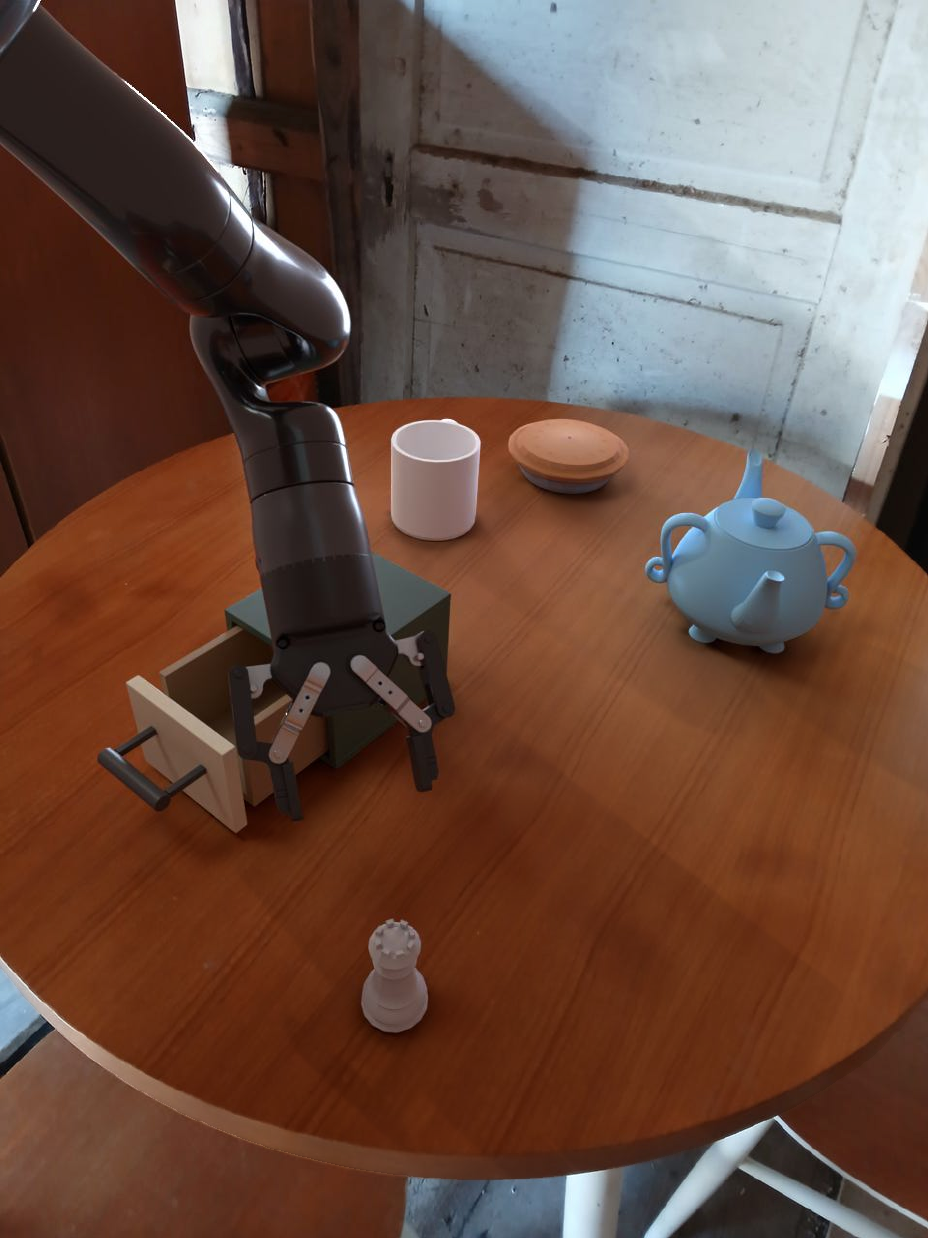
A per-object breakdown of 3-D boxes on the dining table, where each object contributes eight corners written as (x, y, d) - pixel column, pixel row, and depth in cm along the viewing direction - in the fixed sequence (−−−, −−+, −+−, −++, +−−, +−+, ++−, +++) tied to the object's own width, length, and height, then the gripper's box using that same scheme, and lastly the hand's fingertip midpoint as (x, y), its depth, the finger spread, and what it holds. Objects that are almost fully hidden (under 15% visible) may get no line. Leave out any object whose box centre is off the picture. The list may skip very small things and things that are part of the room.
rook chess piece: (398, 1050, 58) (398, 985, 53) (347, 1008, 60) (343, 941, 55) (441, 998, 61) (445, 932, 56) (391, 960, 63) (391, 892, 58)
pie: (631, 506, 112) (638, 471, 109) (506, 499, 112) (509, 463, 109) (618, 447, 124) (624, 413, 121) (505, 440, 124) (508, 407, 121)
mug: (465, 547, 103) (470, 468, 97) (380, 533, 104) (380, 454, 98) (487, 493, 113) (492, 417, 106) (409, 481, 114) (410, 405, 108)
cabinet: (336, 770, 76) (331, 677, 70) (237, 701, 82) (223, 609, 75) (446, 682, 85) (451, 593, 79) (350, 625, 91) (347, 537, 85)
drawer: (185, 873, 67) (167, 794, 61) (94, 793, 72) (70, 714, 66) (358, 738, 78) (355, 661, 72) (268, 678, 83) (260, 602, 78)
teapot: (737, 697, 86) (778, 578, 77) (614, 586, 99) (636, 473, 90) (856, 649, 92) (905, 534, 84) (725, 550, 105) (756, 442, 97)
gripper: (205, 569, 54) (254, 838, 53) (431, 535, 58) (481, 784, 57) (206, 589, 61) (249, 826, 60) (407, 557, 66) (451, 778, 64)
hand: (362, 805), depth 59 cm, fingers open, 8 cm apart
